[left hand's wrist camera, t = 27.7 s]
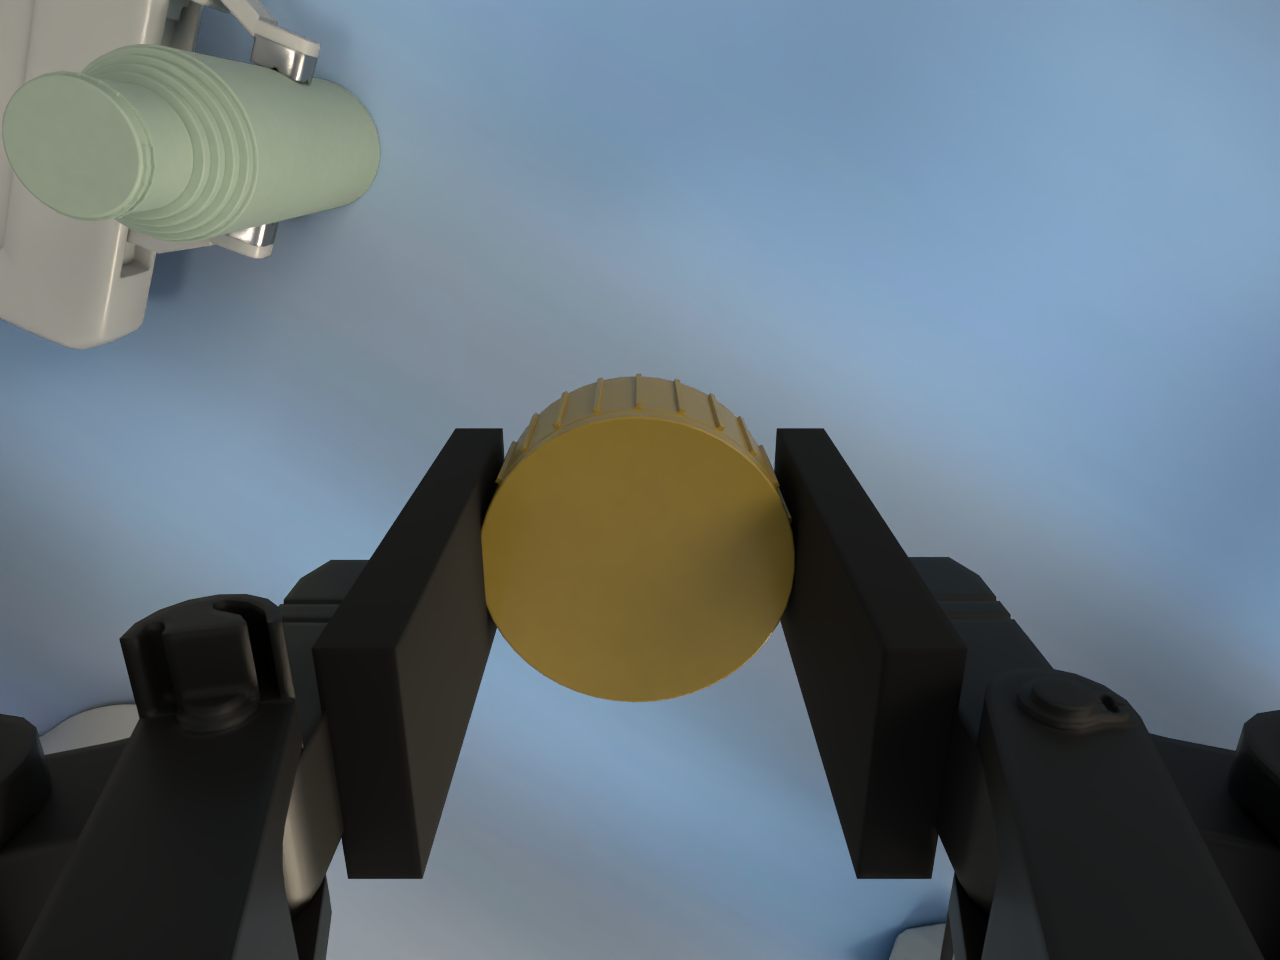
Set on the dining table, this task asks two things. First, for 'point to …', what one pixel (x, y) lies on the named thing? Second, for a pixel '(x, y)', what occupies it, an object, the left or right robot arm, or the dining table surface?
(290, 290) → the dining table surface
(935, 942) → the vase
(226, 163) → the bottle
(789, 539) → the cap
